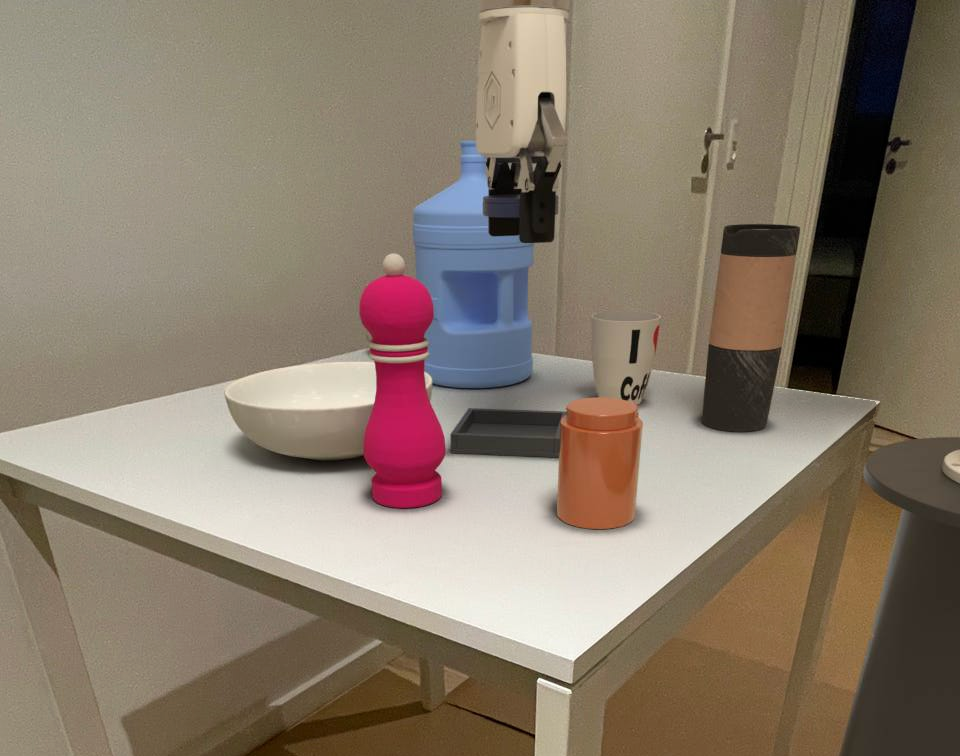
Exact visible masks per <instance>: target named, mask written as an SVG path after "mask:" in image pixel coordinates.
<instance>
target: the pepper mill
mask: <svg viewBox="0 0 960 756" xmlns="http://www.w3.org/2000/svg"><path fill="white" fill-rule="evenodd" d="M382 269H383V272H384V274H385V275H383V276H382V275H381V276H380V277H378V278H375V279H374V280H372V281H371V282H369V283H368V284H367V285H366V286H365V288H364V289H363V291H362V293H361V296H360V299H359V307H358V309H359V310H358V313H359V319H360V321H361V324H362V327H364V329H365V331H366V330H367V331H368V332H369V333H370V334H371V336H372V339H371V340H370V341H369V342H368V341H367V346H368V347H369V353H368V358H369V359H371V360H372V361H373V362H375V370H376V395H375V402H374V405H373V409H372V412H371V415H370V418H369V421H368V424H367V427H366V430H365V435H364V441H363V454H364V456H363V458H364V460H365V462H366V464H367V465H368V466H369V467H370V468H371V469H372V470H373V471H374V472H376V473H375V474H374V475H373V476H372V477H371V480H370V481H371V493H372V499H373V500H374V502H375V503H377V504H379V505H381V506H385V507H389V508H397V509H413V508H421V507H425V506H429V505H431V504H433V503H435V502H437V501H439V500H440V499H441V497H442V494H443V487H442V486H443V485H442V483H443V482H442V475H441V474H440V473H439V472H438V471H436V470H437V469H438V467H439V466H440V465H441V464H442V462H443V461H444V459H445V457H446V452H447V447H446V439H445V434H444V430H443V427H442V425H441V422H440V421H439V419H438V416H437V414H436V412H435V410H434V408H433V406H432V403H431V401H430V400H429V397H428V394H427V390H426V384H425V375H424V366H425V359H426V358H427V357H428V356H429V351H428V347H427V346H428V344H429V341H428V339H426V338H424V335H425V332H426V331H427V329H428V328H429V326H430V325H431V323H432V321H433V317H434V308H433V302H432V298H431V295H430V293H429V291H428V290H427V288H426V287H425V286H424V285H423V284H422V283H421V282H420V281H418V280H417V279H416V278H414V277H412V276H409V275H404V273H405V271H406V262H405V260H404V258H403V257H402V256H401V255H400V254H398V253H389V254H388V255H386V256H385V258H384V259H383V262H382Z"/></svg>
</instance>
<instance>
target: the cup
mask: <svg viewBox="0 0 960 756" xmlns="http://www.w3.org/2000/svg"><path fill="white" fill-rule="evenodd" d="M661 317H662V315H660V314H658V313H655V312H650V311H643V310H642V311H641V310H607V311H599V312H595V313H592V314H591V315H590V330H591V331H590V332H591V333H590V348H591V349H590V352H591V363H592V370H593V371H592V372H593V378H594V379H593V381H594V386H595V388H596V394H597V398H599V397H600V398H616V399H622V400H626V401H629V402H632V403H634V404H636V405H637V406H638V405H639V404H641V402H642V399H643V397H644V395H645V392H646V389H647V387H648V384H649V381H650V378H651V373H652V370H653V365H654V361H655V358H656V357H655V356H656V353H657V345H658V341H659V340H658V339H659V332H660V326H661Z"/></svg>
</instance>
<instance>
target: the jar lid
mask: <svg viewBox="0 0 960 756" xmlns="http://www.w3.org/2000/svg"><path fill="white" fill-rule="evenodd" d="M559 197H560V196H559V195H558V194H556V204H555V216H557V215H558V214H559ZM483 215H484V216H488V217H503V218H520V194H505V195H490V196H484V197H483Z"/></svg>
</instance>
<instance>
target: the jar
mask: <svg viewBox="0 0 960 756" xmlns="http://www.w3.org/2000/svg"><path fill="white" fill-rule="evenodd" d="M565 410H566V412H567V415H566V416H564V417H563V418H561V420H560V442H559V458H558V468H557V469H558V471H557V473H558V474H557V497H556V498H557V499H556V516H557V517H558V519H559V520H561V521H562V522H563V523H566V524H568V525H569V526H574V527H577V528H581V529H587V530H589V529H590V530H609V529H617V528H622V527H624V526H626V525H629V524H631V523H632V522H633V521H634V519H635V518H636V506H637V495H638V484H639V475H640V474H639V473H640V463H641V462H640V460H641V450H642V439H643V427H644V422H643V420H642V419H641V418H640V417H639V414H640V413H639V412H638V410H639V407H638V405H636V404H634V403H632V402H629V401H626V400H622V399H616V398H600V397H585V398H579V399H574V400H573V401H570V402H569V403H567V404H566V405H565ZM565 410H564V411H565Z"/></svg>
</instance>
